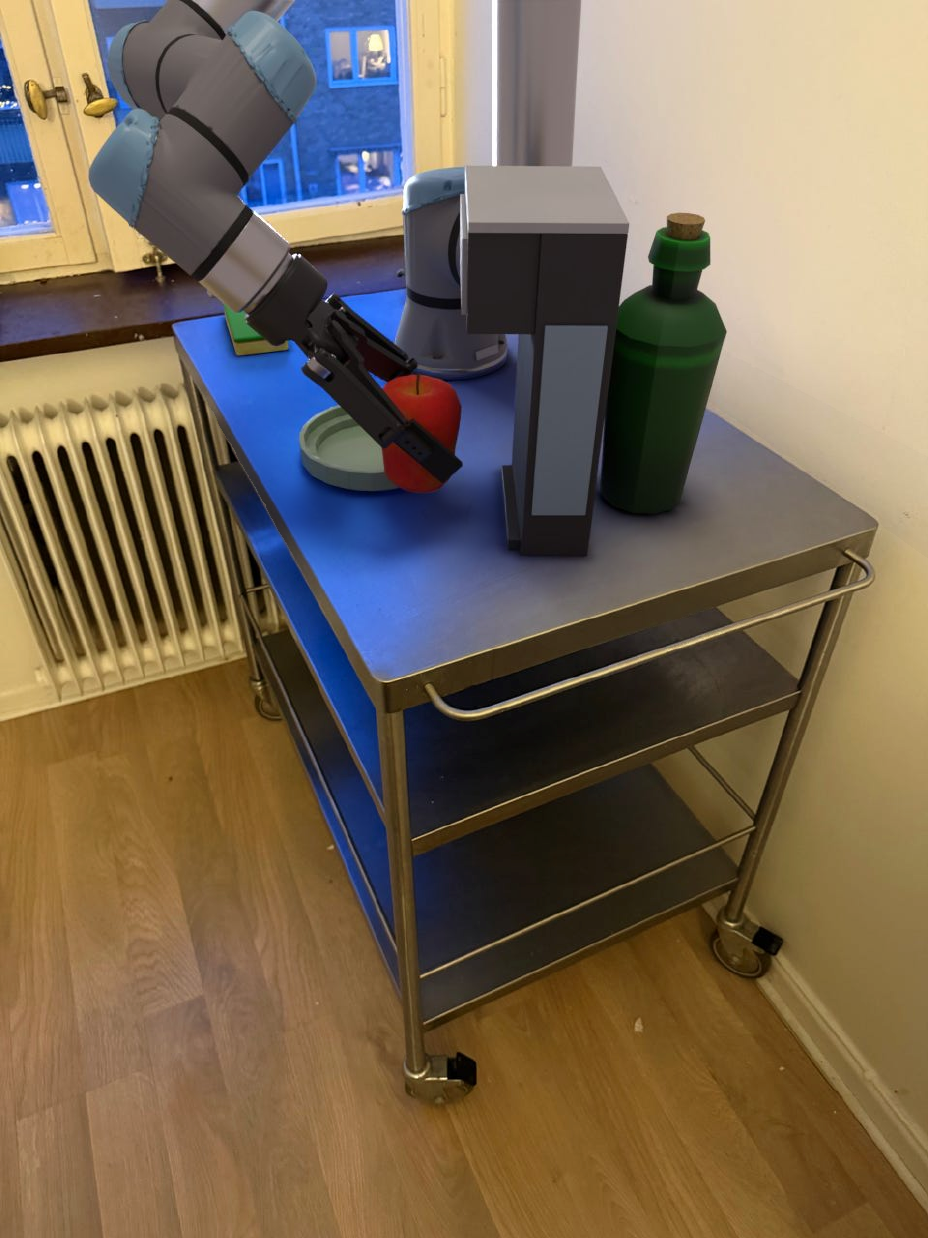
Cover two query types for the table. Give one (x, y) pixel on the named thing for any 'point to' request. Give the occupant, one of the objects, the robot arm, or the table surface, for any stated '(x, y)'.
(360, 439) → the dish
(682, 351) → the bottle
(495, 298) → the coffee maker
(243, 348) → the dish sponge
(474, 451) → the table surface
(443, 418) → the apple
